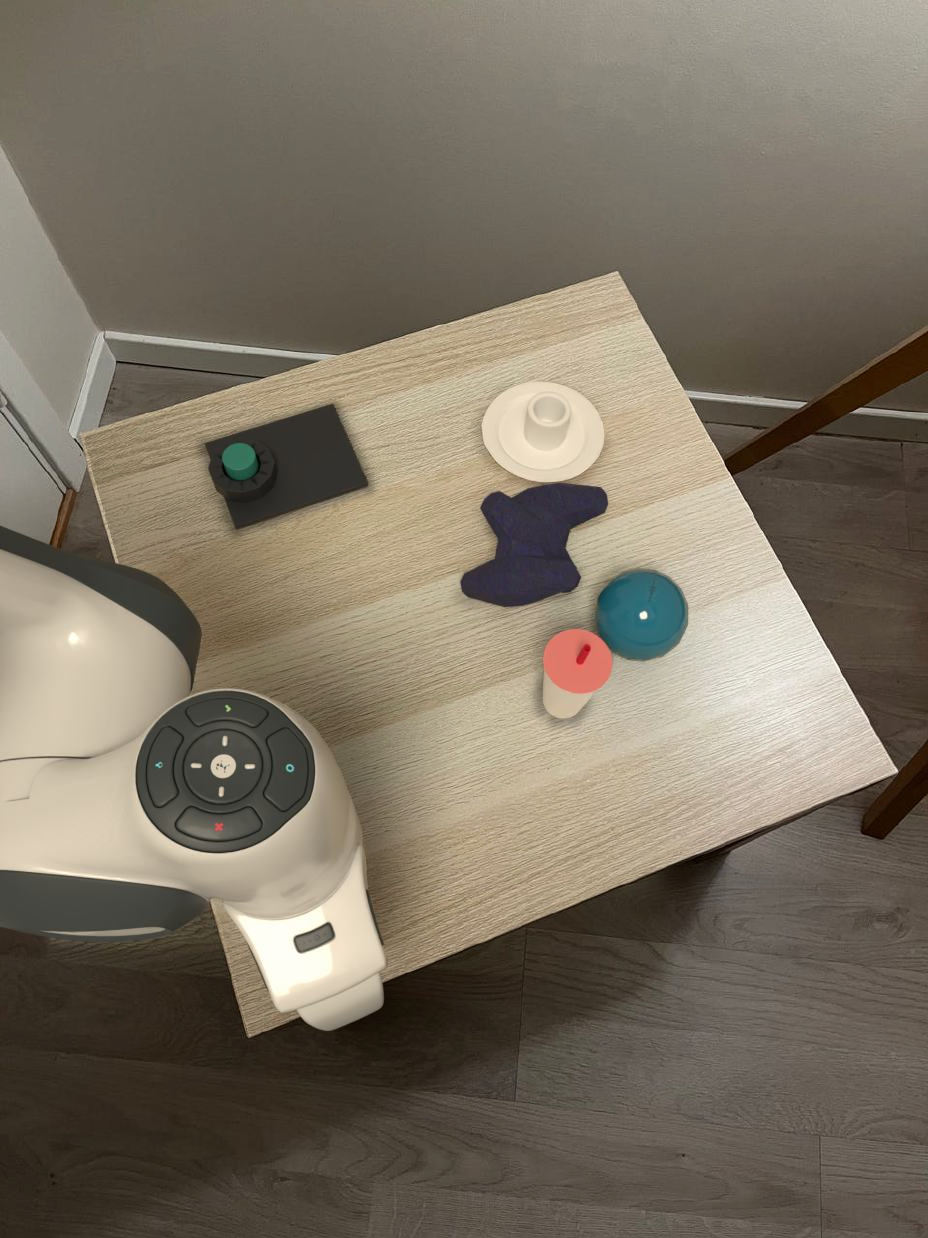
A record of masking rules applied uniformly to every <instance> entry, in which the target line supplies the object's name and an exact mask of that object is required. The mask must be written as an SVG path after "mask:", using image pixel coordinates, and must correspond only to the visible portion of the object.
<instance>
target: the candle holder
mask: <svg viewBox="0 0 928 1238" xmlns="http://www.w3.org/2000/svg"><path fill="white" fill-rule="evenodd" d="M480 425H481V434H482V441H483V442H482V443H483V445H484V446H485V448H486V450H487V451H488V453H489V454H490V456H491V457H492V458H493V459H494V460H495V462H496V463H497V464H498V465H499V466H501V468H503V469H505V470H506V471H507V472H509V473H511V474H512V475H514V476H515V477H518V478H521V479H524V480H527V481H531V482H537V483H559V482H563V481H567V480H570V479H573V478H576V477H578V476H579V475H581V474H582V473H584V472H586V471H587V470H588V469H589V468H590V467H592V466H593V465H594V464H595V462H596V461H597V459H598V458H599V456H600V455H601V454H602V453H601V452H602V451H603V449H604V443H605V427H604V423H603V420H602V417H601V415H600V413H599V411H598V410H597V408H596V407H595V406H594V404H592V402H591V401H590V400H589V399H588V398H587V397H586V396H584V395H583V394H581V393H580V392H578V391H576V390H575V389H573V388H571V387H569V386H566V385H564V384H560V383H558V382H557V383H556V382H551V381H529V382H528V381H527V382H522V383H520V384H516V385H514V386H511V387H509V388H507V389H506V390H504V391H503V392H501V393H500V394H499V395H497V396H496V397H495V398H494V399H493V400H492V401H491V403H490V404H489V406H488V407H487V409H486V411H485V413H484V416H483V418H482V421H481V424H480Z"/></svg>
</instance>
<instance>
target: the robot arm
mask: <svg viewBox="0 0 928 1238" xmlns="http://www.w3.org/2000/svg"><path fill="white" fill-rule="evenodd" d="M202 639H203V630H202V626H201V623H200V621H199V620H198V619H197V617H196V615H195V614H194V613H193V612H192V610H191V608H190V607H189V606H188V605H187V604H186V602H185V601H184V600H183V599H182V598H181V596H180V595H179V594H178V593H177V592H176V591H175V590H174V589H173V588H172V587H171V586H169V585H168V584H167V583H166V582H165V581H164V580H162V579H161V578H159V577H158V576H156V575H154V574H152V573H150V572H148V571H145V570H142V569H139V568H136V567H133V566H130V565H126V564H122V563H117V562H114V561H110V560H105V559H100V558H97V557H96V558H95V557H90V556H86V555H82V554H78V553H73V552H70V551H67V550H64V549H62V548H59V547H56V546H54V545H51V544H48V543H46V542H43V541H41V540H38V539H36V538H33V537H31V536H28V535H26V534H23V533H21V532H18V531H15V530H13V529H10V528H7V527H6V526H3V525H0V928H3V929H8V930H13V931H16V932H21V933H25V934H30V935H34V936H40V937H44V938H49V939H57V940H64V941H72V942H73V941H74V942H82V943H83V942H85V943H123V942H135V941H136V942H137V941H142V940H150V939H155V938H161V937H165V936H168V935H171V934H172V933H175V932H176V931H177V930H179V929H181V928H183V927H185V926H186V925H187V924H188V923H190V922H192V921H193V920H195V919H196V918H197V917H199V916H200V915H201V914H202V913H203V912H205V910H206V909H207V908H208V907H209V906H210V901H212V899H216V900H221V905H222V908H223V909H224V910H225V912H226V913H227V914H228V916H229V917H230V919H231V920H232V922H233V923H234V924H235V926H236V927H237V929H238V930H239V931H240V933H241V935H242V937H243V938H244V940H245V942H246V945H247V947H248V949H249V952H250V954H251V956H252V958H253V961H254V963H255V964H256V967H257V970H258V972H259V974H260V977H261V979H262V982H263V984H264V987H265V989H266V990H267V992H268V993H269V996H270V998H271V1001H272V1003H273V1005H274V1007H275V1009H276V1010H277V1011H278V1012H279V1013H281V1014H287V1013H290V1012H293V1011H296V1012H297V1013H298V1016H300V1018H301V1019H302V1020H303V1021H304V1022H305V1023H306V1024H308V1025H310V1026H311V1027H313V1028H315V1029H317V1030H320V1031H325V1032H328V1031H329V1032H330V1031H334V1030H337V1029H340V1028H342V1027H344V1026H347V1025H349V1024H351V1023H354V1022H356V1021H358V1020H360V1019H362V1018H365V1017H367V1016H368V1015H370V1014H372V1013H375V1012H376V1011H378V1010H380V1009H381V1008H382V1007H383V1006H384V1002H385V994H384V984H383V978H382V975H381V972H382V971H383V970H385V969H386V968H387V967H388V960H389V959H388V956H387V953H386V950H385V947H384V944H385V943H384V939H383V937H382V933H381V929H380V927H379V923H378V920H377V917H376V914H375V910H374V904H373V900H372V896H371V892H370V890H369V885H368V875H367V873H368V871H367V856H366V855H367V854H366V851H365V848H364V838H363V837H364V836H363V829H362V824H361V820H360V817H359V815H358V812H357V810H356V807H355V804H354V802H353V799H352V796H351V794H350V792H349V790H348V788H347V784H346V780H345V777H344V775H343V772H342V770H341V768H340V766H339V764H338V762H337V760H336V758H335V756H334V754H333V752H332V750H331V748H330V747H329V745H328V744H327V742H326V740H325V739H324V738H323V736H322V735H321V734H320V732H319V731H318V730H317V728H315V726H313V724H312V723H311V722H310V721H309V720H307V719H306V718H305V717H304V716H303V715H302V714H300V713H299V712H298V711H296V710H294V709H293V708H291V707H290V706H288V705H287V704H285V703H283V702H281V701H279V700H277V699H275V698H273V697H270V696H268V695H265V694H263V693H260V692H256V691H253V690H250V689H244V688H239V687H238V688H236V687H220V688H219V687H218V688H212V689H206V690H202V691H198V692H196V693H194V694H191V693H192V691H193V689H194V683H195V677H196V672H197V666H198V660H199V655H200V649H201V644H202Z"/></svg>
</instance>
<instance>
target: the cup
mask: <svg viewBox="0 0 928 1238" xmlns="http://www.w3.org/2000/svg"><path fill="white" fill-rule="evenodd" d="M611 652H612V651H611V650H610V649H609V648H608V647H607V645H606V644H605V642H604V641H603V640H602V639H601V638H600V637H599V635H597V634H595V633H593V632H591V631H588V630H585V629H582V628H581V629H580V628H572V629H566V630H563V631H560V632H559V633H557V634H555V635H553V637H552V638H551V639H550V640H549V641H548V642H547V644H546V645H545V648H544V651H543V656H542V662H543V679H542V680H543V681H542V704H543V707H544V709H545V711H546V712H547V713H548V714H549V715H551V716H553V717H554V718H557V719H561V720H562V719H563V720H564V719H571V718H573V717H574V716H576V715H578V713H580V711H581V709H582V708H584V707H585V705H586V704H587V703H588V702H589V700H591V698H592V697H593V696H594V694H596V692H597V691H598V690H599V689H600V688H602V687H603V686H604V685H605V684H606V683H607V682H608V680H609V678H611V677H610V676H611V675H612V671H613V656H612V653H611Z"/></svg>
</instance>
